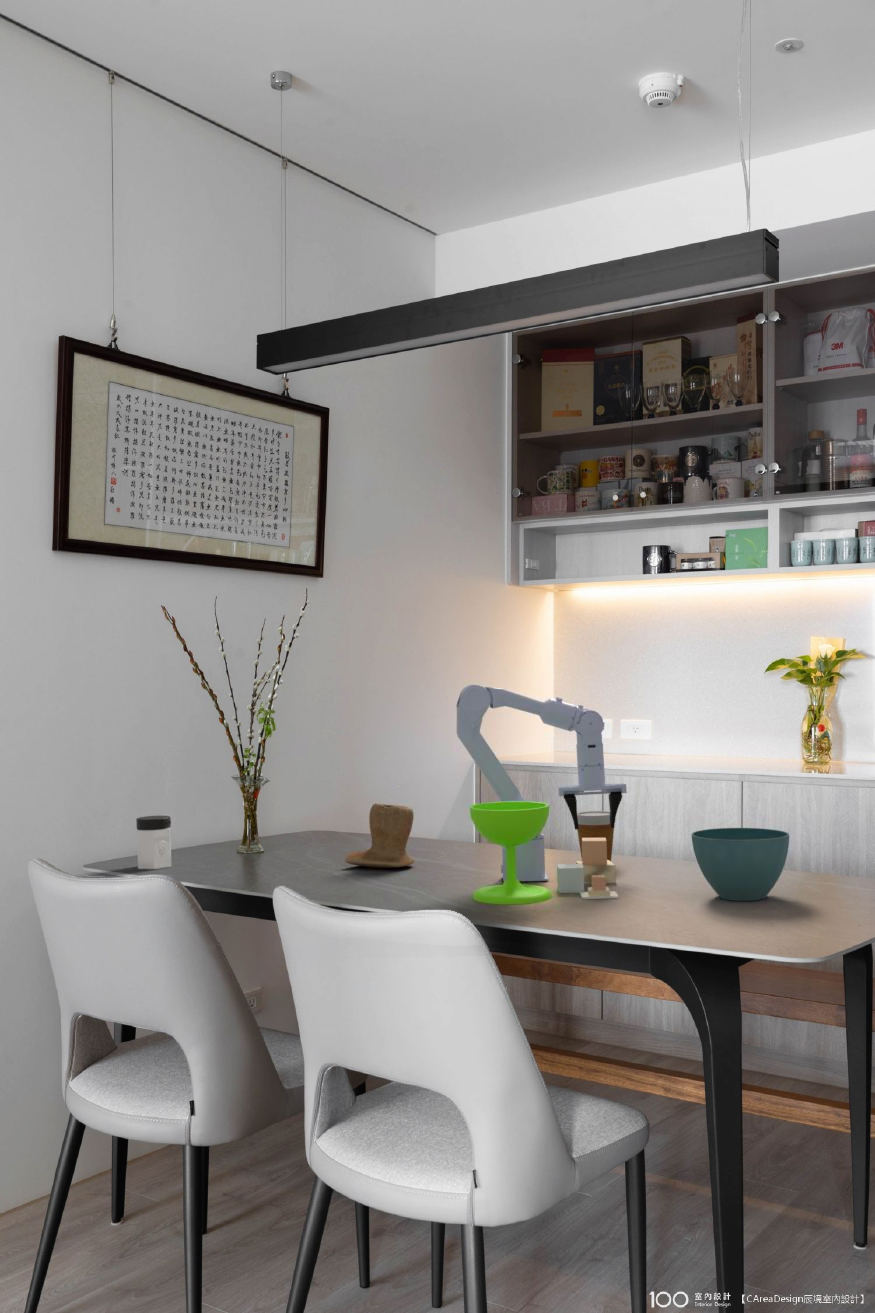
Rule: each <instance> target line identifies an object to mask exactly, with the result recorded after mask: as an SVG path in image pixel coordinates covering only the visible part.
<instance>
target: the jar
mask: <svg viewBox="0 0 875 1313" xmlns="http://www.w3.org/2000/svg"><path fill="white" fill-rule="evenodd" d="M135 822H136V823H135V824H136V842H137V843H136V844H137V849H136V850H137V869H138V870H159V869H167V868H172V844H171V842H172V841H171V839H172V838H171V827H172V826H171V824H172V820H171V816H170V815H146V816H141V817H137V818H136V821H135Z"/></svg>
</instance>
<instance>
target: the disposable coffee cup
mask: <svg viewBox="0 0 875 1313" xmlns="http://www.w3.org/2000/svg"><path fill="white" fill-rule="evenodd" d="M577 818H578V826H579V829H578V830H576V832H577V837H578V843H579V849H580V855H581V856H580V857H581V858H582V838H606V841H607V860H609V861H611V862H612V855H613V854H612V853H613V842H614V831H615V827H614V828H611V827H610V811H606V810H605V811H604V810H600V811H599V810H597V811H596V810H592V811H591V810H590V811H579V812H577ZM615 821H617V818H615Z"/></svg>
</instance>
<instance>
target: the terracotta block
mask: <svg viewBox="0 0 875 1313" xmlns="http://www.w3.org/2000/svg"><path fill="white" fill-rule="evenodd" d="M581 861H582V862H583V865H607V841H606V838H582V857H581Z"/></svg>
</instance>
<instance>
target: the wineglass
mask: <svg viewBox="0 0 875 1313" xmlns="http://www.w3.org/2000/svg"><path fill="white" fill-rule="evenodd" d="M526 801H527V800H526ZM526 801H509V802H502V801H494V802H493V801H492V802H482V803H481V802H480V803H475V804H472V805H470V806H469V812H470V813H469V814H470V818H471V821H472V822H473V825H474V827H475V829H476V830H477V831H478V833H479V835H481V836H482V837H483V838H485V839H486V840H488V841H489V842H490V843H492V844H496V845H499V846H501V847H502V846H506V865H507V878H506V880H505V882H504V881H503V883H502V884H495V885H488V886H484V887H481V888H478V889H476V891H474V893H472V898H471V899H473V900H474V901H476V902H479V903H484V904H491V905H492V904H493V905H524V904H525V905H527V904H534V903H541V902H544V901H547V900H550V899H551V898H553V894H552V891H551V890H550V889H548V888H547V887H544V886H540V885H535V884H525V883H521V881H518V879H517V877H516V850H515V846H519V845H522V844H524V843H527V842H529V841H531V840H532V839H533V838H534V837H536V836H537V835H538V834H539V833H540V832H541V833H542V831H543V829H544V827H545V826H546V824H547V821H548V818H549V815H550V804H549V803H548V802H538V801H527V802H526ZM541 830H542V831H541Z"/></svg>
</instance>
